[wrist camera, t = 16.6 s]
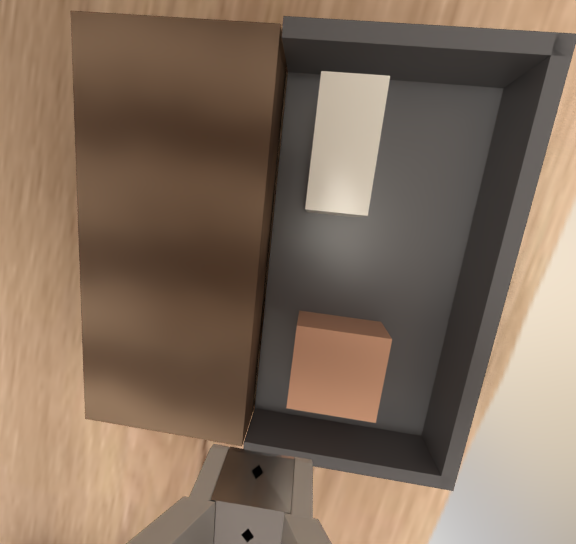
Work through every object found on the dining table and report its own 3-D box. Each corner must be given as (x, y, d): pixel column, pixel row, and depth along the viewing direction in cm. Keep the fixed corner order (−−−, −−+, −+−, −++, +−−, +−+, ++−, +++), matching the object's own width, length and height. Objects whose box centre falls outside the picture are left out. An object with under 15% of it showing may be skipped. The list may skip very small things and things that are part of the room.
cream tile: (321, 70, 10) (390, 75, 10) (319, 118, 15) (365, 122, 15) (305, 209, 11) (367, 215, 11) (308, 212, 16) (351, 216, 16)
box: (290, 61, 15) (283, 16, 12) (515, 77, 14) (578, 33, 11) (255, 412, 20) (242, 453, 16) (427, 441, 19) (453, 490, 15)
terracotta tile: (299, 310, 17) (296, 325, 15) (381, 321, 17) (392, 339, 14) (290, 383, 18) (286, 408, 16) (367, 395, 18) (375, 422, 15)
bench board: (115, 49, 16) (70, 10, 13) (287, 61, 15) (280, 23, 12) (118, 389, 20) (85, 418, 17) (252, 412, 20) (241, 446, 17)
